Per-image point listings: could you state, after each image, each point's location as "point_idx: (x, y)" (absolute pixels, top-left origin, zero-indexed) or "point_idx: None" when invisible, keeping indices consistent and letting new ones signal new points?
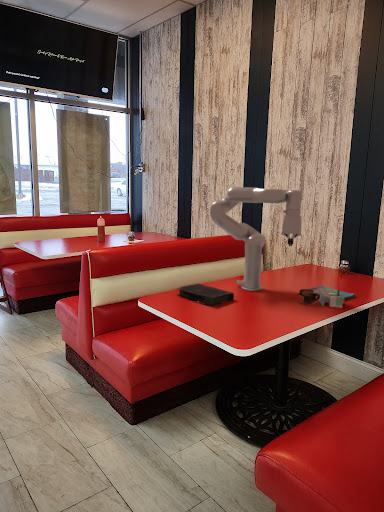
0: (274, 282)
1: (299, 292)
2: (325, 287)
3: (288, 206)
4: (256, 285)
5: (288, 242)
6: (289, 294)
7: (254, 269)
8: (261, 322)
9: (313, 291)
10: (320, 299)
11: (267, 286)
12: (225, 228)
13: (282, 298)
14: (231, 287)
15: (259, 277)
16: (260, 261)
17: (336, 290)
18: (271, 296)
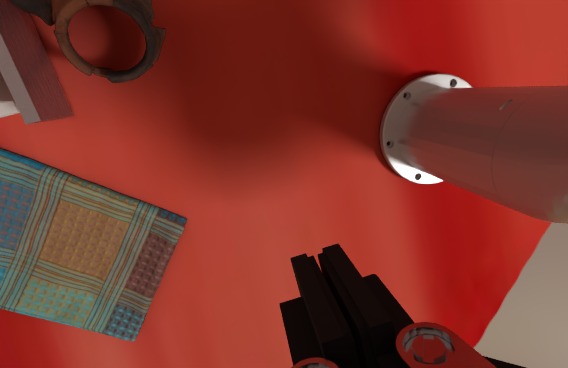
0: None
1: (146, 6)
2: (100, 326)
3: None
4: (415, 105)
5: (373, 290)
6: (236, 124)
7: (497, 94)
8: None
9: (57, 34)
10: (27, 32)
11: (366, 207)
12: None
13: (249, 24)
14: None
15: (428, 128)
16: (508, 144)
17: (30, 303)
18: (309, 31)
